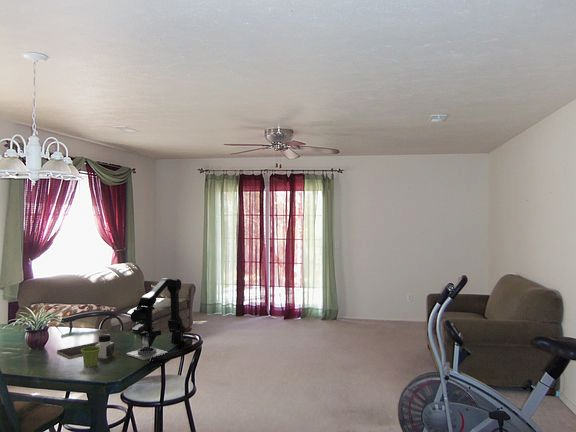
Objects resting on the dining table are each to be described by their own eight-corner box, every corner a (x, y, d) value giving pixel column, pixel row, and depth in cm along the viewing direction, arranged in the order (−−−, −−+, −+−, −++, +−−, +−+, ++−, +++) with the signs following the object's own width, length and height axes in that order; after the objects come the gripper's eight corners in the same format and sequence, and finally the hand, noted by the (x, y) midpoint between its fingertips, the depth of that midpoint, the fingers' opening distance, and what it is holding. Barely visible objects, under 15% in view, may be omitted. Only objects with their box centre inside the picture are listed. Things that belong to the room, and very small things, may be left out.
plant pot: (97, 361, 241) (97, 345, 241) (102, 366, 233) (102, 349, 234) (78, 365, 235) (78, 348, 235) (83, 369, 228) (83, 352, 228)
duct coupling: (140, 350, 254) (140, 335, 254) (148, 348, 258) (148, 334, 258) (145, 351, 251) (145, 337, 251) (153, 349, 255) (153, 335, 255)
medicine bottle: (106, 358, 246) (106, 336, 246) (94, 358, 247) (95, 336, 247) (114, 355, 253) (114, 333, 253) (102, 354, 254) (102, 333, 254)
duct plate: (150, 348, 266) (150, 344, 266) (167, 353, 256) (167, 349, 256) (126, 354, 253) (126, 350, 253) (143, 360, 243) (143, 355, 243)
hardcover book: (109, 350, 263) (109, 346, 263) (69, 359, 246) (69, 355, 246) (96, 345, 274) (96, 341, 274) (57, 353, 256) (57, 349, 257)
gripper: (125, 318, 254) (124, 346, 254) (144, 323, 242) (144, 352, 242) (142, 315, 263) (142, 342, 263) (162, 319, 251) (161, 347, 251)
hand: (147, 346), depth 254 cm, fingers closed on duct coupling, 5 cm apart
